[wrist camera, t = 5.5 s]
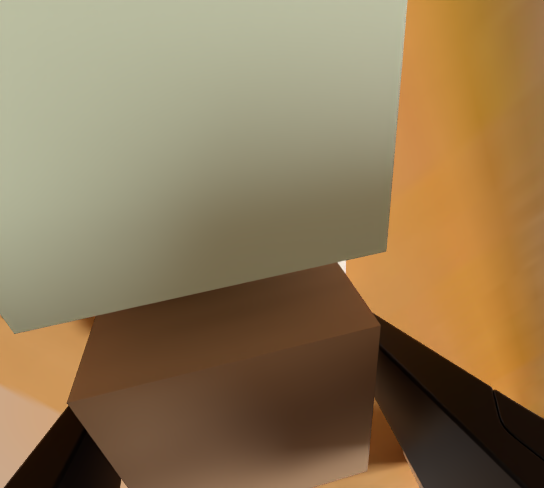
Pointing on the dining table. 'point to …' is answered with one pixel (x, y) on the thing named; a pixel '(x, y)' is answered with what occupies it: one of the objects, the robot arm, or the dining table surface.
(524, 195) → the dining table surface
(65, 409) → the robot arm
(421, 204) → the dining table surface
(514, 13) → the dining table surface
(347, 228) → the l-shaped block
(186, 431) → the walnut cube
